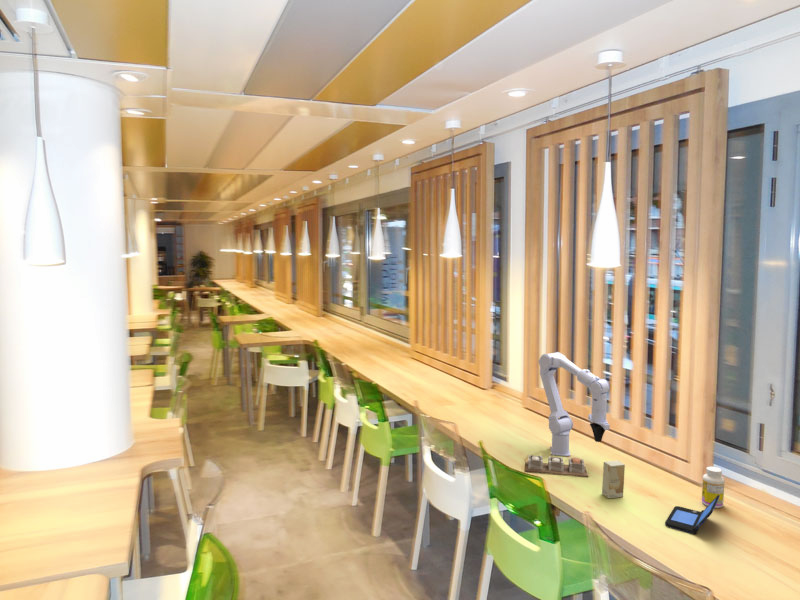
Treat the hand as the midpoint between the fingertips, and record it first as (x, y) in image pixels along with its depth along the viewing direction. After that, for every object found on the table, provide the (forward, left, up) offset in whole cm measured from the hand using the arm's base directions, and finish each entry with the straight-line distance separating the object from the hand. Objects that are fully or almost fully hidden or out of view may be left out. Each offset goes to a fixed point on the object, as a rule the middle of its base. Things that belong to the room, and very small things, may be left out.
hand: (597, 441), depth 229 cm
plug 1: (+8, -25, -9) cm, 28 cm away
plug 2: (+8, -17, -9) cm, 21 cm away
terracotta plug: (+8, -9, -9) cm, 15 cm away
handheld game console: (+44, +24, -11) cm, 51 cm away
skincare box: (+28, +2, -11) cm, 30 cm away
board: (+8, -17, -10) cm, 21 cm away
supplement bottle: (+28, +35, -11) cm, 46 cm away
